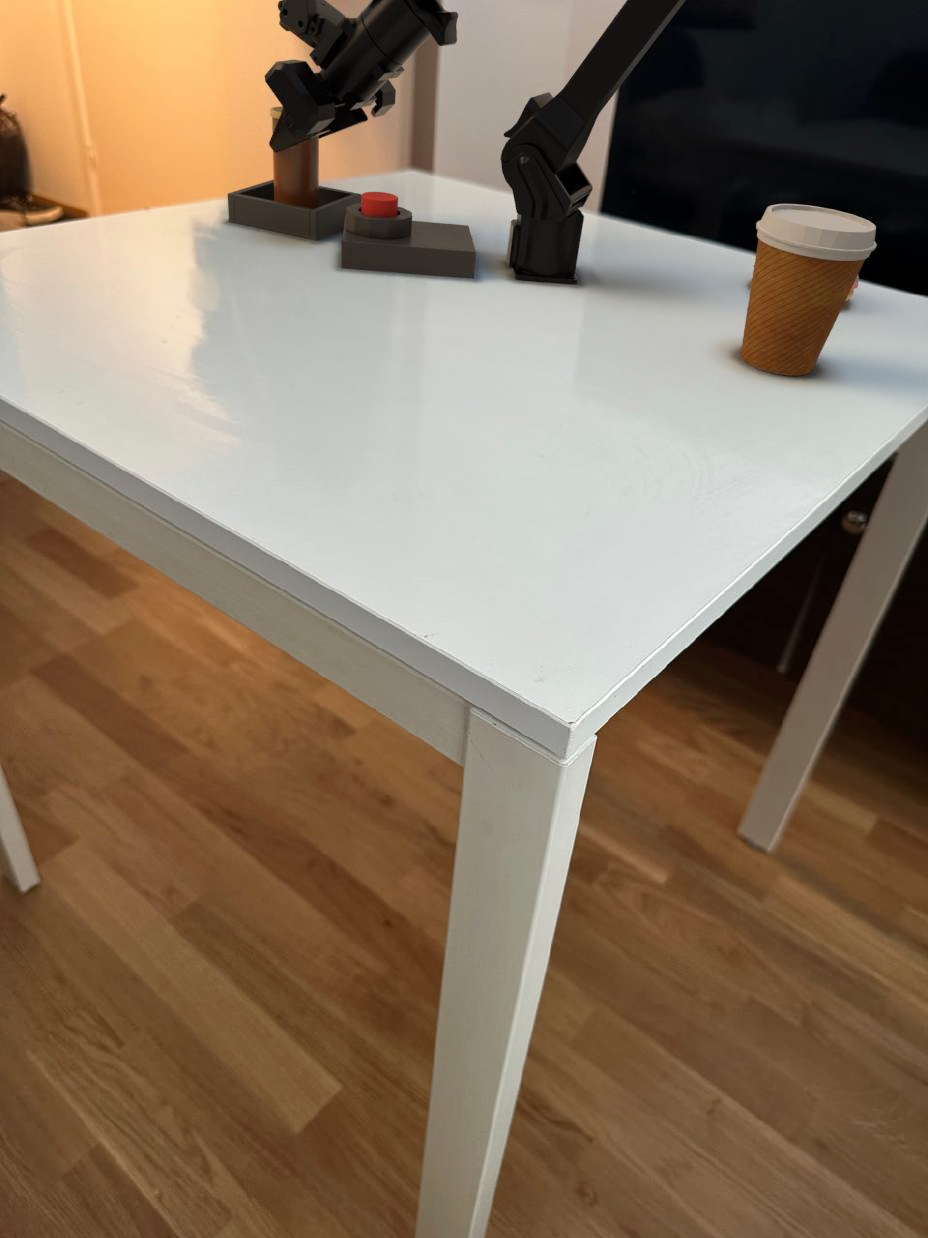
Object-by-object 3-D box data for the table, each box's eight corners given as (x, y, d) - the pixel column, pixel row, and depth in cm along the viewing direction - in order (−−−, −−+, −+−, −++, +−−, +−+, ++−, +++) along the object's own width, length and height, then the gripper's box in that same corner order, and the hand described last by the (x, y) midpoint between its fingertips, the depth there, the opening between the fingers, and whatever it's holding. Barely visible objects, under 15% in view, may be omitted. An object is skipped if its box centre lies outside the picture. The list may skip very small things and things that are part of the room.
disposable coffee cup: (773, 388, 76) (821, 235, 69) (699, 346, 82) (736, 202, 75) (855, 377, 80) (908, 232, 73) (778, 338, 86) (820, 201, 79)
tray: (361, 222, 105) (362, 193, 103) (316, 241, 97) (316, 211, 95) (279, 205, 108) (278, 177, 106) (228, 223, 99) (227, 193, 98)
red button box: (466, 251, 100) (470, 207, 97) (473, 279, 92) (477, 232, 89) (344, 241, 98) (345, 196, 95) (341, 269, 90) (342, 220, 88)
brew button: (397, 211, 94) (398, 193, 93) (397, 220, 91) (398, 201, 90) (361, 208, 93) (362, 190, 92) (360, 217, 90) (361, 198, 89)
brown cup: (329, 216, 102) (330, 114, 96) (290, 220, 99) (288, 115, 93) (302, 204, 105) (301, 105, 99) (263, 208, 102) (260, 106, 96)
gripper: (373, -40, 94) (280, 69, 103) (281, -45, 80) (182, 82, 89) (439, 60, 97) (342, 158, 106) (360, 73, 83) (257, 185, 92)
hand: (284, 144), depth 98 cm, fingers closed on brown cup, 5 cm apart
